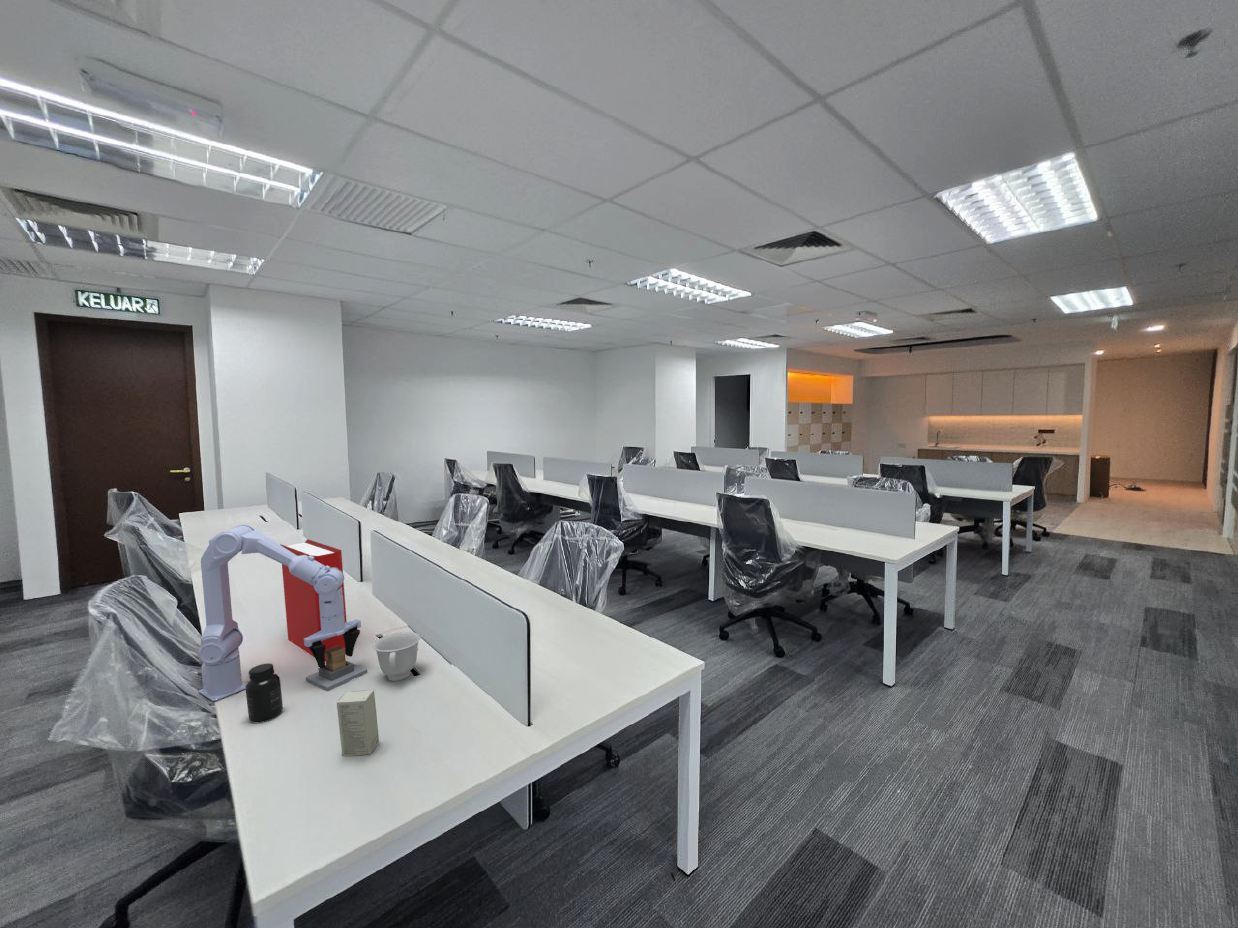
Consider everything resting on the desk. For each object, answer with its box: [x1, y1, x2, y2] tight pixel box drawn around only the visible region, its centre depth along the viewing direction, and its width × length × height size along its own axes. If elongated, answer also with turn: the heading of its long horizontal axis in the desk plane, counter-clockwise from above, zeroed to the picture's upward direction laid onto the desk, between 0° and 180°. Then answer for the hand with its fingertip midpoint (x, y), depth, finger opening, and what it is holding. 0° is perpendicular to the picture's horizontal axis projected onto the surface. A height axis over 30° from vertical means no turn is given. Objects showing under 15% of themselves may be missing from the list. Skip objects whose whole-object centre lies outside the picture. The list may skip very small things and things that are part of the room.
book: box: [279, 539, 348, 663], centre depth 157 cm, size 27×8×32 cm, turn 52°
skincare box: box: [336, 689, 380, 757], centre depth 106 cm, size 6×4×12 cm
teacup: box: [372, 631, 421, 681], centre depth 136 cm, size 12×15×10 cm
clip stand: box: [305, 660, 368, 692], centre depth 138 cm, size 11×11×3 cm
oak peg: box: [325, 645, 347, 672], centre depth 138 cm, size 4×4×7 cm
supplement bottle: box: [244, 663, 284, 723], centre depth 120 cm, size 7×7×12 cm
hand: (335, 661), depth 138 cm, fingers open, 7 cm apart
